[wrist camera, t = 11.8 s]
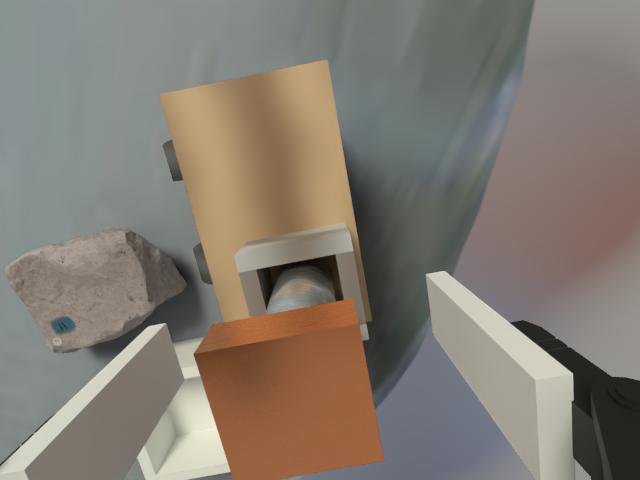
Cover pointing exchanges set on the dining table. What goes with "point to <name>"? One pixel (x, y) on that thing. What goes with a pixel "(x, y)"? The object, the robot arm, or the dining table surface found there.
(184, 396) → the tray
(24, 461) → the robot arm
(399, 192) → the dining table surface
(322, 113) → the trolley
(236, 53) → the dining table surface
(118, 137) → the dining table surface
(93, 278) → the stone
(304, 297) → the pin
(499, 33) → the dining table surface
